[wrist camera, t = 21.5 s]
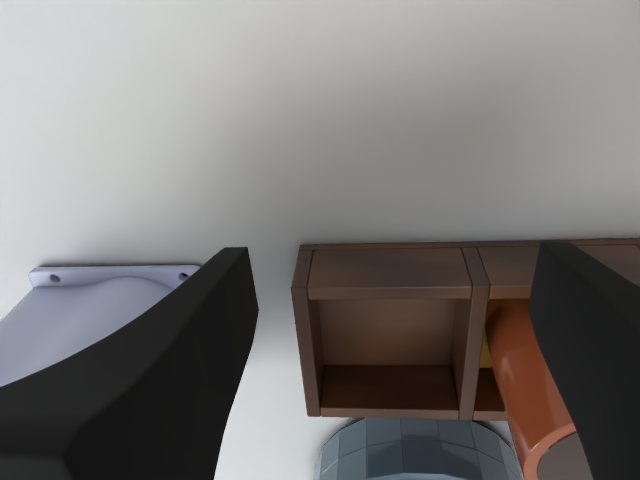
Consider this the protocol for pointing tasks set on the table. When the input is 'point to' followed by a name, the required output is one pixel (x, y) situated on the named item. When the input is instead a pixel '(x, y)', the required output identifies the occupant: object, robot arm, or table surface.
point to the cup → (531, 397)
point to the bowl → (416, 452)
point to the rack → (414, 323)
